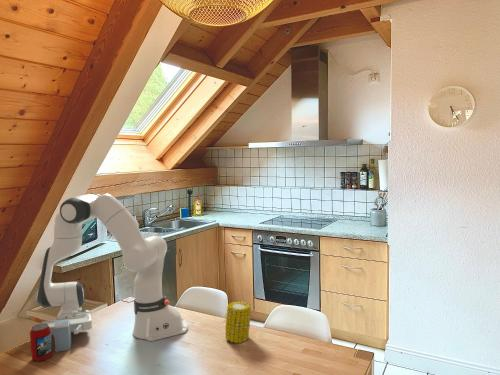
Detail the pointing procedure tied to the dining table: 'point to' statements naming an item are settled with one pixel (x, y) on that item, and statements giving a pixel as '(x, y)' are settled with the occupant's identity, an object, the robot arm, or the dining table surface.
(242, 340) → the food
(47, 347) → the beverage can
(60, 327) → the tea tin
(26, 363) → the dining table surface
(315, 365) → the dining table surface
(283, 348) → the dining table surface
